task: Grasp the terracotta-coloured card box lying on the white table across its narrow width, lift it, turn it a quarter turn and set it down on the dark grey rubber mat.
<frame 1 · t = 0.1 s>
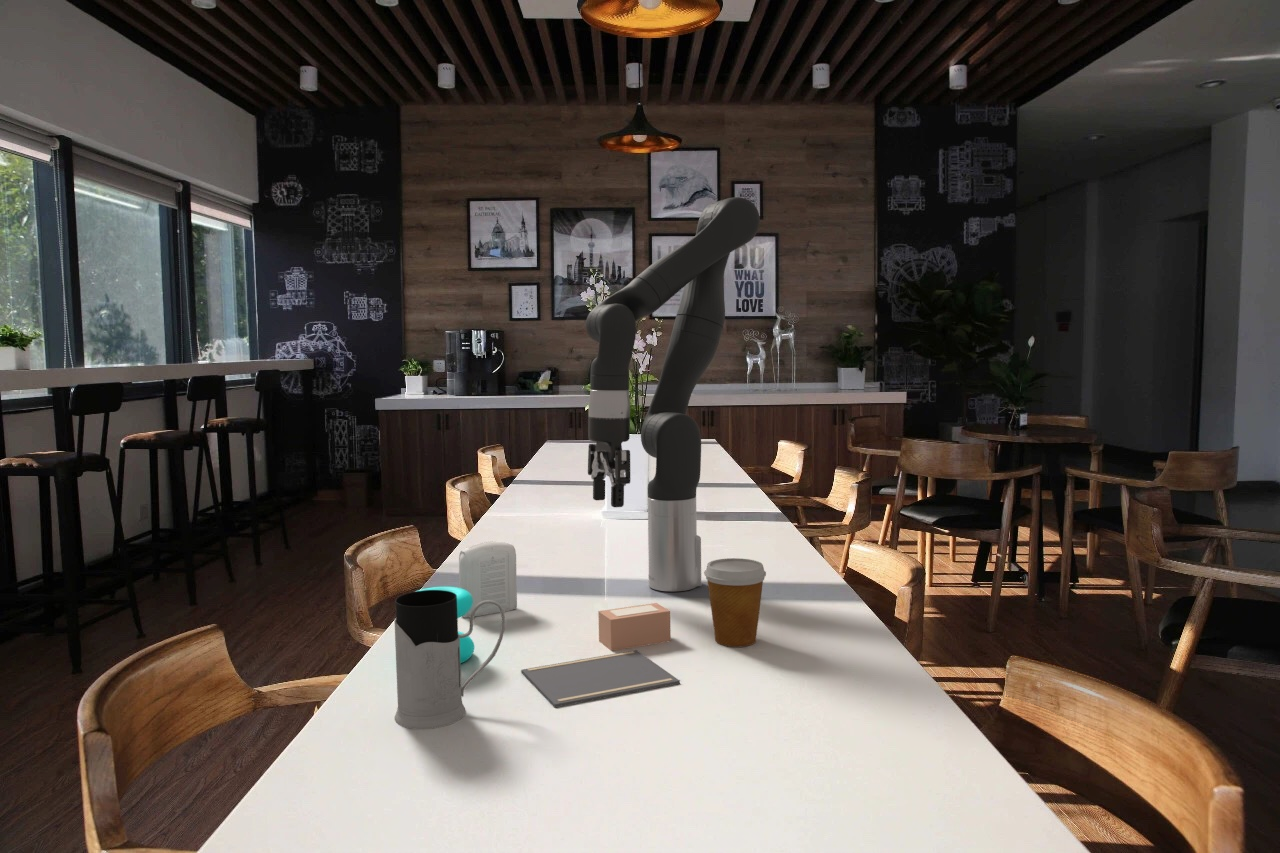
hand: (607, 503, 166), 17 cm above the table, tool pointing down, fingers open, 8 cm apart
glass holder: (452, 712, 115), on the table
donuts: (440, 660, 135), on the table
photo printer: (489, 613, 158), on the table
mat: (598, 677, 126), on the table
disposable coffee cup: (735, 641, 141), on the table
card box: (634, 642, 141), on the table
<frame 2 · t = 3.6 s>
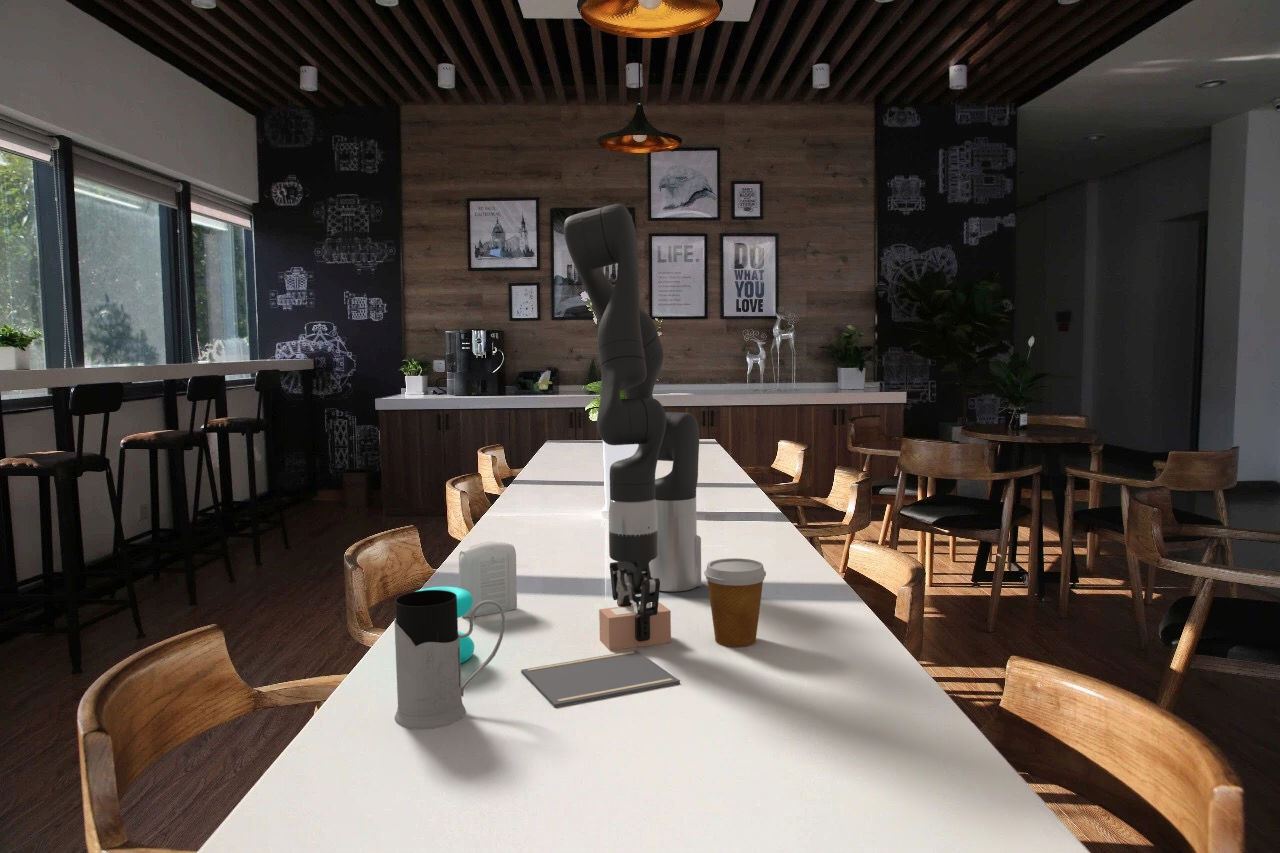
hand: (634, 634, 141), 1 cm above the table, tool pointing down, fingers closed on card box, 5 cm apart
card box: (635, 641, 141), on the table, touching gripper
everything else where it was.
when the fingers open (2 cm above the table, at t = 9.7 s): card box stays where it is, resting on mat.
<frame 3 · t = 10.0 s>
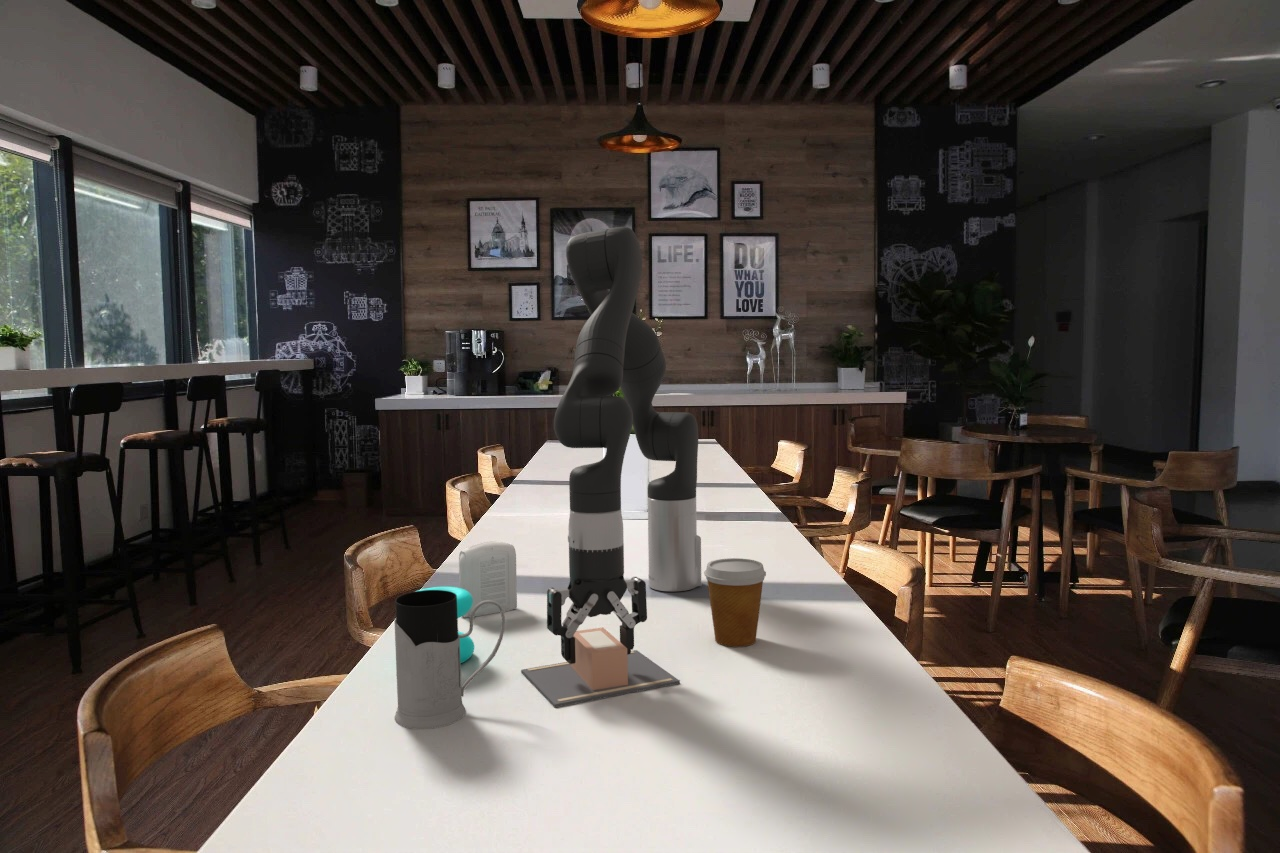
hand: (598, 657, 126), 3 cm above the table, tool pointing down, fingers open, 8 cm apart
card box: (598, 675, 126), resting on mat
everything else where it was.
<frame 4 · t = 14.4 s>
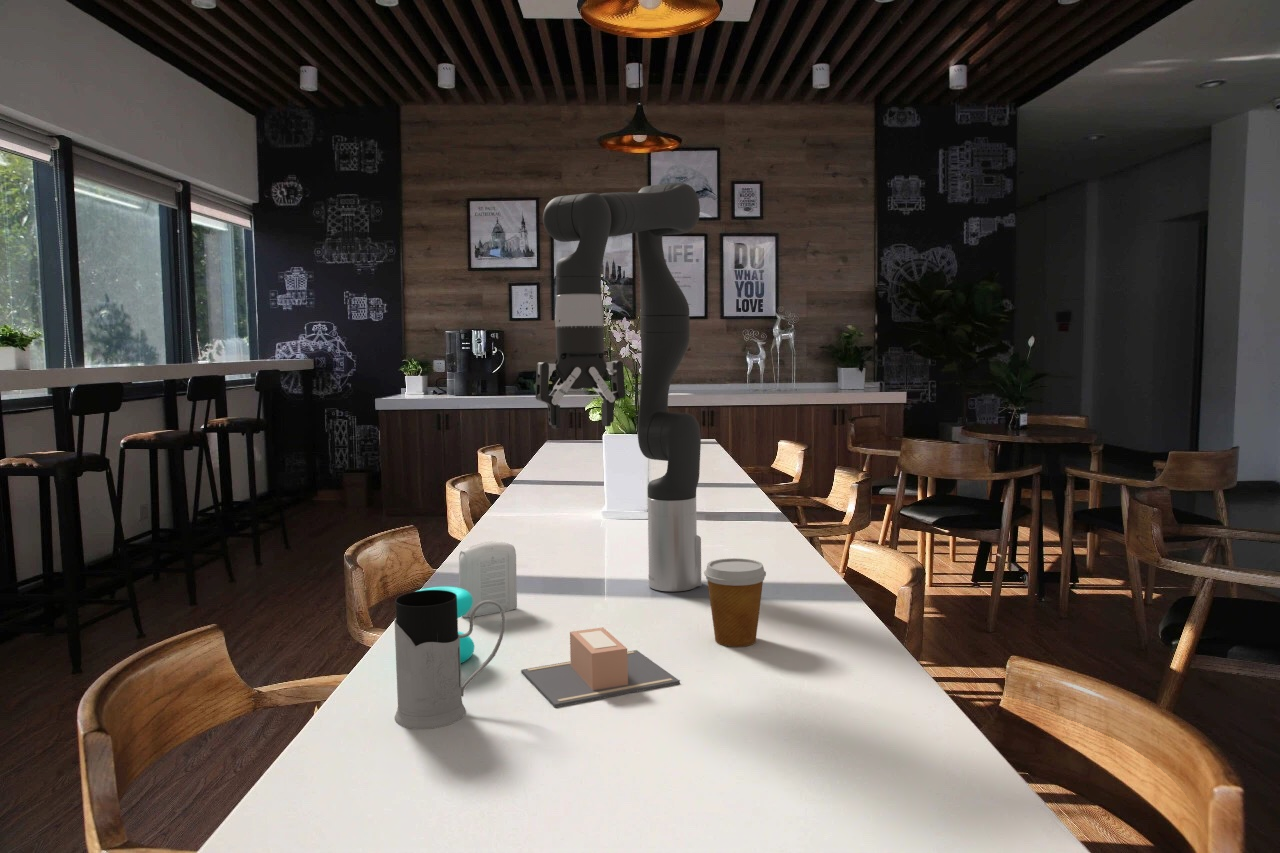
hand: (581, 427, 144), 33 cm above the table, tool pointing down, fingers open, 8 cm apart
nothing on the table moved.
at the end: card box inside the target area on the mat (0.0 cm from its centre), point 0.4 cm above the mat's base; card box tilted 0°; the gripper is holding nothing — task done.
